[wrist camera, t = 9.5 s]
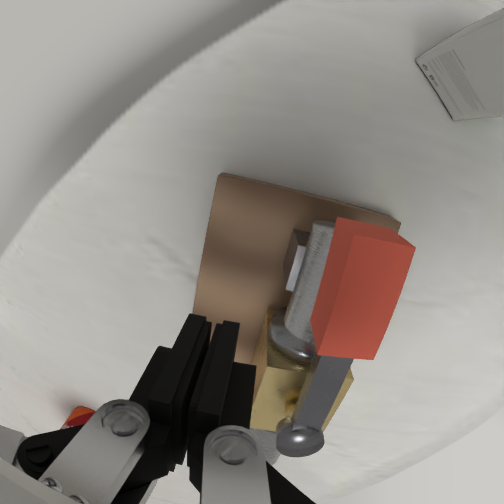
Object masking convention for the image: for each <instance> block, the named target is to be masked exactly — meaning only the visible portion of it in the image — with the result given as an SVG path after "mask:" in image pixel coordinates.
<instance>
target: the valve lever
mask: <svg viewBox="0 0 504 504" xmlns="http://www.w3.org/2000/svg"><path fill="white" fill-rule="evenodd" d="M415 248H416V247H414V246H413V245H412V244H410V243H409V242H408V241H406V240H405V239H404V238H402V237H401V236H400V235H398V234H397V233H396V232H394V231H393V230H392V229H390V228H387V227H382V226H378V225H373V224H369V223H364V222H360V221H355V220H350V219H346V218H341V217H337V220H336V224H335V228H334V232H333V236H332V240H331V244H330V248H329V252H328V256H327V260H326V264H325V268H324V272H323V275H322V279H321V283H320V287H319V290H318V294H317V297H316V301H315V304H314V308H313V311H312V315H311V318H310V323H311V328H312V332H313V337H314V341H315V346H316V352H315V355H314V358H313V360H312V363H311V366H310V369H309V372H308V374H307V377H306V380H305V383H304V385H303V388H302V391H301V393H300V396H299V398H298V401H297V404H296V406H295V409H294V411H293V414H292V415H290V416H287V417H285V418H283V419H282V420H280V421H279V422H278V424H277V426H276V449H277V450H278V451H279V452H280V453H281V454H283V455H285V456H289V457H304V456H308V455H311V454H314V453H316V452H317V451H319V450H320V449H321V448H322V447H323V445H324V436H323V429H322V425H323V424H324V422H325V420H326V418H327V416H328V414H329V412H330V410H331V408H332V405H333V403H334V401H335V399H336V397H337V395H338V393H339V391H340V389H341V386H342V384H343V382H344V380H345V378H346V375H347V373H348V371H349V369H350V366H351V364H352V362H353V359H367V360H374V357H375V355H376V353H377V351H378V348H379V346H380V344H381V341H382V339H383V337H384V334H385V332H386V330H387V327H388V325H389V322H390V320H391V317H392V315H393V312H394V309H395V307H396V304H397V301H398V299H399V296H400V293H401V290H402V288H403V285H404V282H405V279H406V276H407V273H408V270H409V267H410V264H411V261H412V258H413V255H414V251H415Z"/></svg>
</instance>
